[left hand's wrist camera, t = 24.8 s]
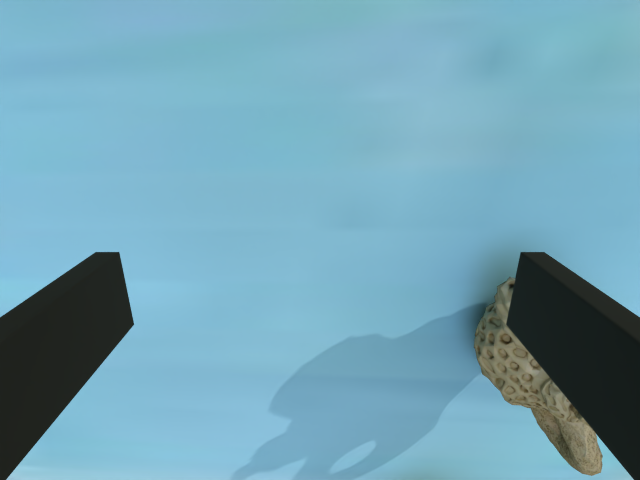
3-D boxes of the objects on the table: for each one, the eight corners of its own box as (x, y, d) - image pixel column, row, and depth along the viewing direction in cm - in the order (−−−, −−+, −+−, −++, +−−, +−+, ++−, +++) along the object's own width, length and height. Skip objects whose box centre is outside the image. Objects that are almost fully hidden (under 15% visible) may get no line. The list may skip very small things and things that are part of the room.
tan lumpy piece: (436, 269, 42) (494, 355, 28) (538, 229, 41) (654, 299, 26) (487, 404, 49) (554, 527, 35) (576, 375, 47) (684, 491, 33)
